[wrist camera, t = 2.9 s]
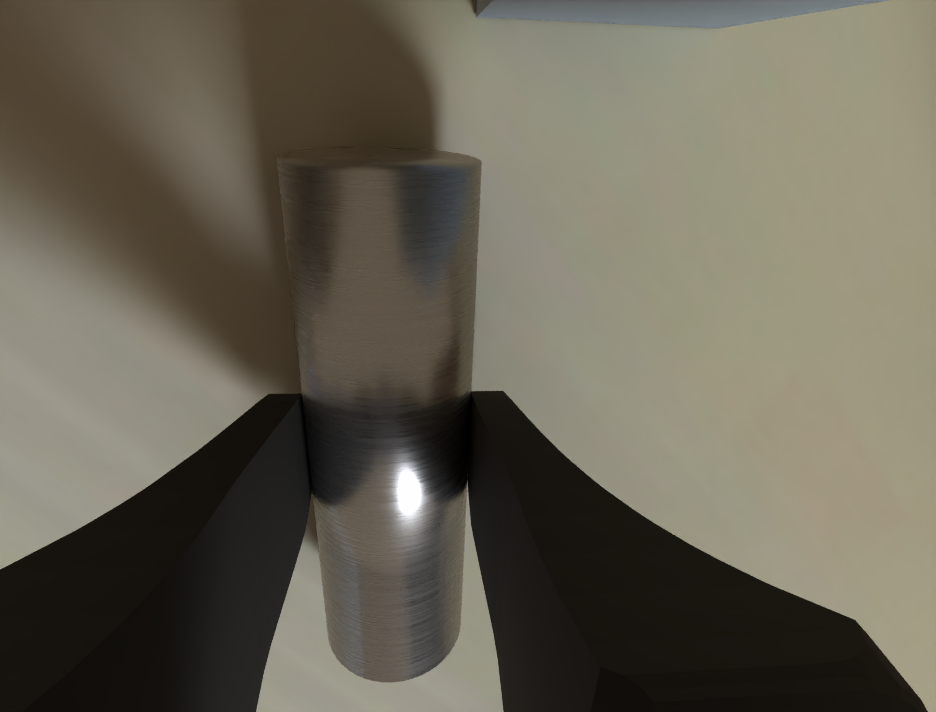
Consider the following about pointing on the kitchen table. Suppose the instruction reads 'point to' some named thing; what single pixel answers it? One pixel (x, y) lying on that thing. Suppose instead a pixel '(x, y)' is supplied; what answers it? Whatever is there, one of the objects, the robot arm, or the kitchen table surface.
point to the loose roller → (386, 389)
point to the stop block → (658, 10)
